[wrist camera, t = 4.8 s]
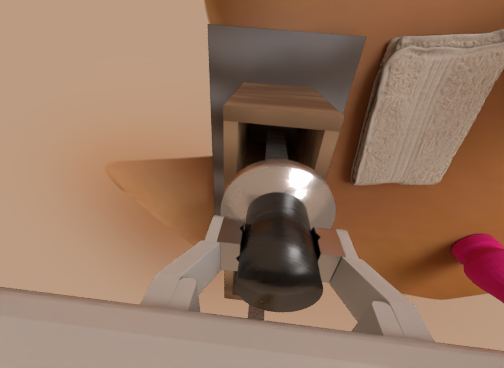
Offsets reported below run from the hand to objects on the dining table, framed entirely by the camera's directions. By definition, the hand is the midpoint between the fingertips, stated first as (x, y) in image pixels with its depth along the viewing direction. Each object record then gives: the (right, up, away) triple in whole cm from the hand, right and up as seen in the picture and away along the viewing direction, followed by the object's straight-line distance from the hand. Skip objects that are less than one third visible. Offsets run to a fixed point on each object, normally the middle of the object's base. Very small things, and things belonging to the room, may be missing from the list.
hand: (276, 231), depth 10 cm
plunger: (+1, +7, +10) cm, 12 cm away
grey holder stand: (+1, +4, +21) cm, 22 cm away
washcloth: (+19, +11, +17) cm, 27 cm away
